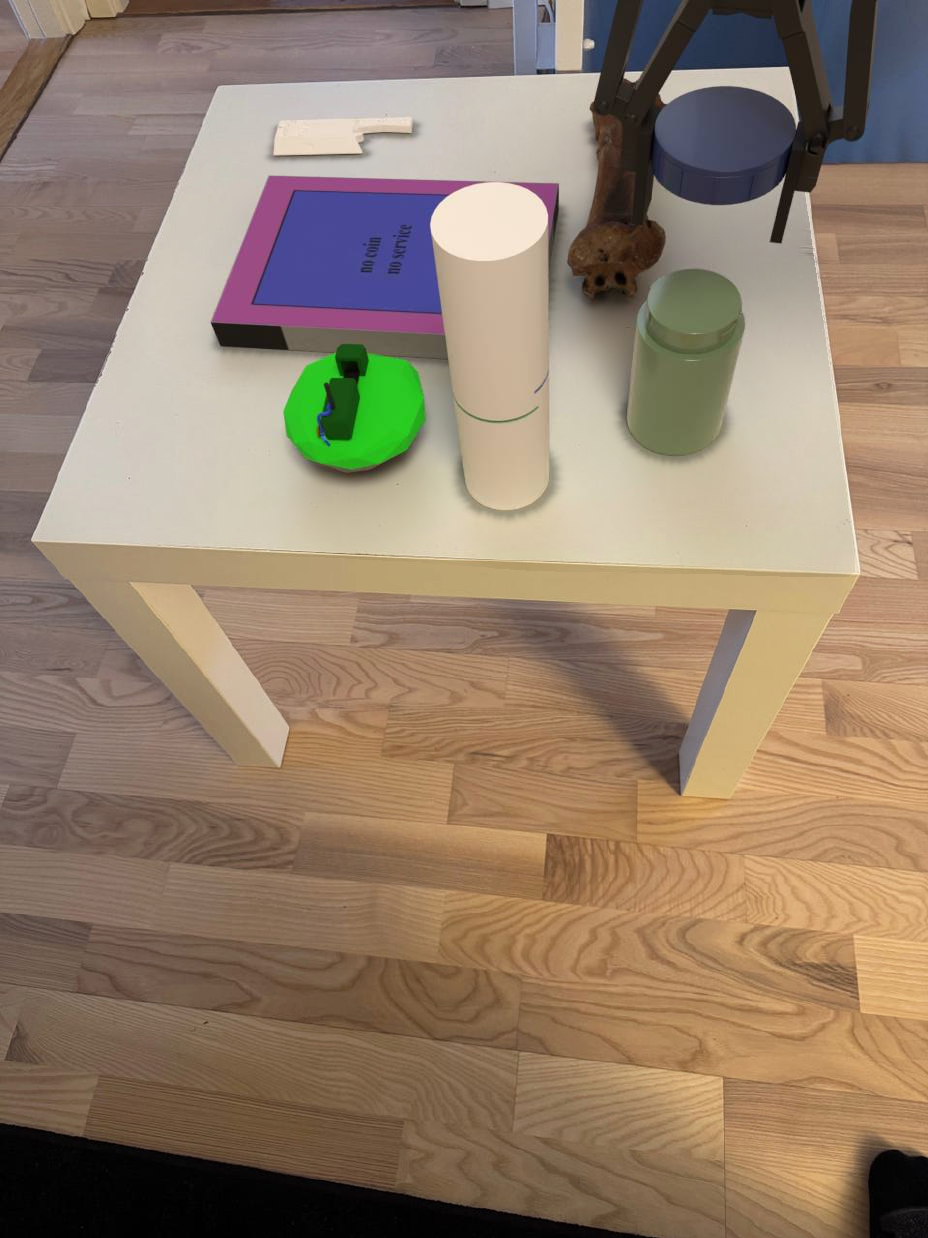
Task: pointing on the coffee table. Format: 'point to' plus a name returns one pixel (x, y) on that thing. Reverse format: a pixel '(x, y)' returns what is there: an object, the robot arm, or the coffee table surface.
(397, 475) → the coffee table surface
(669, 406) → the jar
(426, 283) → the book
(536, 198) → the cylindrical container
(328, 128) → the butcher knife
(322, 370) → the green rounded piece
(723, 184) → the jar lid
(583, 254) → the bone
